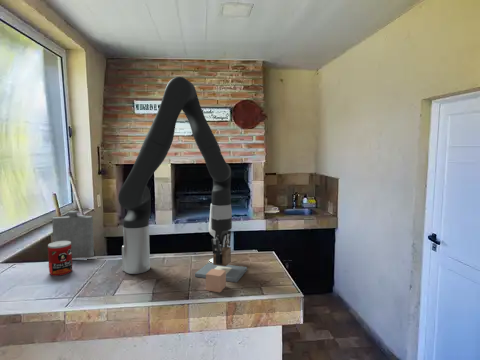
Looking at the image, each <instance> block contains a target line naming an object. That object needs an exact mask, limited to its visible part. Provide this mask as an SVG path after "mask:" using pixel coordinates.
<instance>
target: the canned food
mask: <svg viewBox="0 0 480 360" xmlns="http://www.w3.org/2000/svg"><path fill="white" fill-rule="evenodd" d="M47 257H48V258H47V259H48V272H49V275H51V276H55V277H56V276H63V275H67V274H70V273H71V272H72V271H73V258H72V248H71V242H70V241H56V242H50V243H48V244H47Z"/></svg>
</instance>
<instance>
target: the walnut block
mask: <svg viewBox="0 0 480 360" xmlns="http://www.w3.org/2000/svg"><path fill="white" fill-rule="evenodd" d="M231 248H232V247H230V246H229V247H224V248H223V250H222V264H221V265H220V264H216V254H213V253H212V255H213V256H212V258H213V265H220V266H227V265H230V263H231V262H232V249H231ZM217 251H218V250H217Z"/></svg>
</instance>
